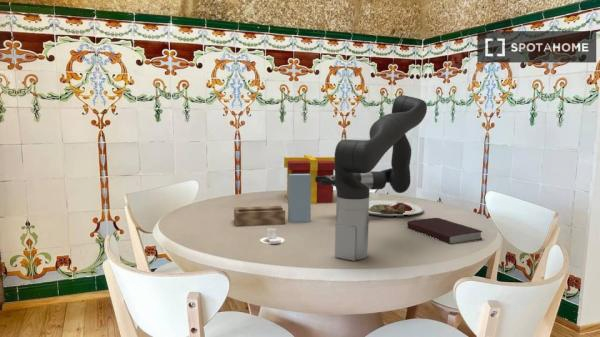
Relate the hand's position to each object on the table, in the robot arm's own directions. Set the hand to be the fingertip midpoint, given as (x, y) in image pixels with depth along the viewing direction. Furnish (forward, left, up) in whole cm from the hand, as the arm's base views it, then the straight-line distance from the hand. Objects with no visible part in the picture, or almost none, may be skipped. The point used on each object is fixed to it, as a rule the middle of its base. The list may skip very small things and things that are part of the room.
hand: (318, 180), depth 165 cm
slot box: (-14, +17, -16) cm, 27 cm away
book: (+9, -45, -16) cm, 48 cm away
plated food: (+34, -15, -16) cm, 40 cm away
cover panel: (-5, +5, -16) cm, 17 cm away
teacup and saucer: (-34, -1, -16) cm, 38 cm away
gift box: (+36, +25, -16) cm, 47 cm away
